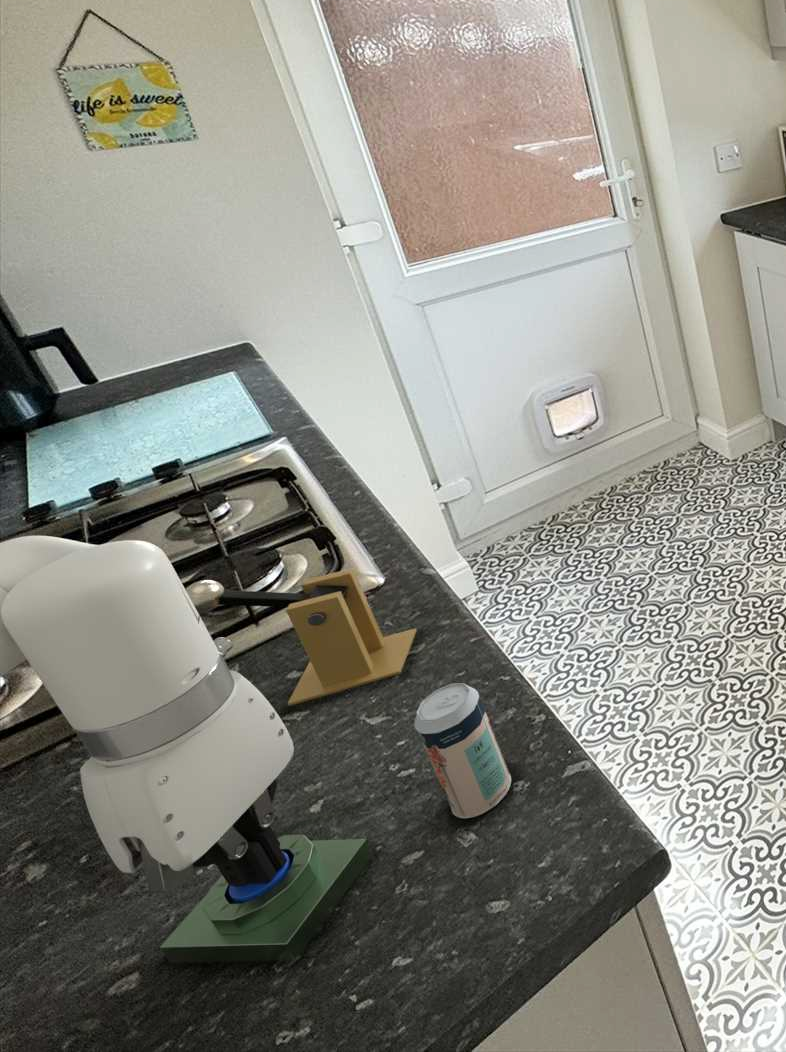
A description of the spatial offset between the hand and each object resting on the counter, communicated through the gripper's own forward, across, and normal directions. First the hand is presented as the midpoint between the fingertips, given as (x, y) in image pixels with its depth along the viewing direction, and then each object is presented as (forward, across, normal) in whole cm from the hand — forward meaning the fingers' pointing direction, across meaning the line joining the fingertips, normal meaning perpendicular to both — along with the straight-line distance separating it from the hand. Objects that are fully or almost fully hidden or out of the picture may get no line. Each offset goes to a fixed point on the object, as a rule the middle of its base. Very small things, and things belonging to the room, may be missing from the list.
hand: (260, 873), depth 62 cm
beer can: (+4, -9, +11) cm, 15 cm away
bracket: (+4, -24, -13) cm, 28 cm away
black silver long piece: (-7, -22, -18) cm, 29 cm away
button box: (+4, 0, 0) cm, 4 cm away
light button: (+2, 0, 0) cm, 2 cm away
